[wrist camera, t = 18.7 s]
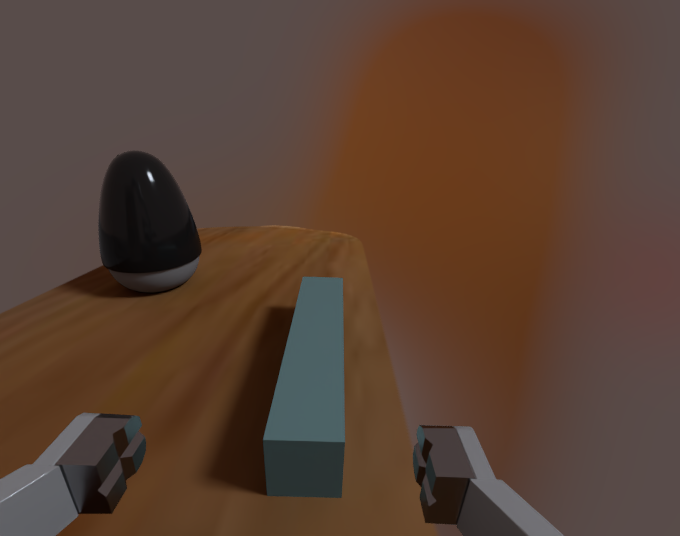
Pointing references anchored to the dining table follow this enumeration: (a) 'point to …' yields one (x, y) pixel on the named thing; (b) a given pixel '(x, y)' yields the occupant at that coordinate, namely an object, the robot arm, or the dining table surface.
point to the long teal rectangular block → (309, 399)
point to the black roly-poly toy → (146, 225)
